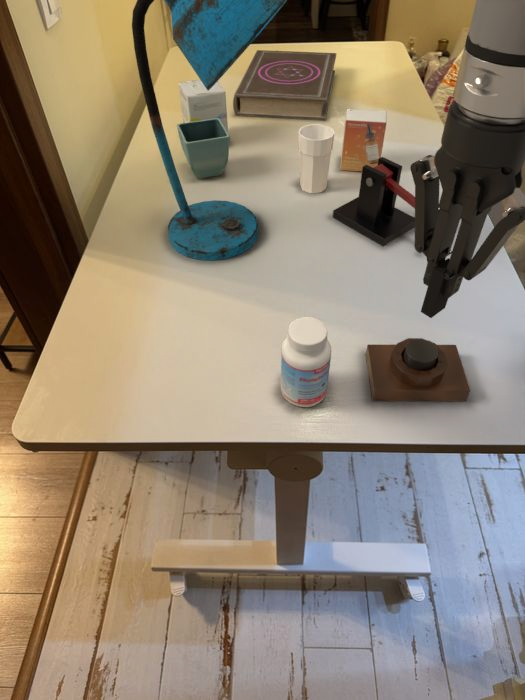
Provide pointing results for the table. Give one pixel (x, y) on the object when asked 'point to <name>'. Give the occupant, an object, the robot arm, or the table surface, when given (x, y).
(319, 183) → the cup
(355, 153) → the small box
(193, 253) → the desk lamp
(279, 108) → the book
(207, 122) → the flower pot
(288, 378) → the pill bottle
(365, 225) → the black lever stand
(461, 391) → the block
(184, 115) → the ink box
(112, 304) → the table surface
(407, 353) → the bell button
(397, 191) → the red lever
